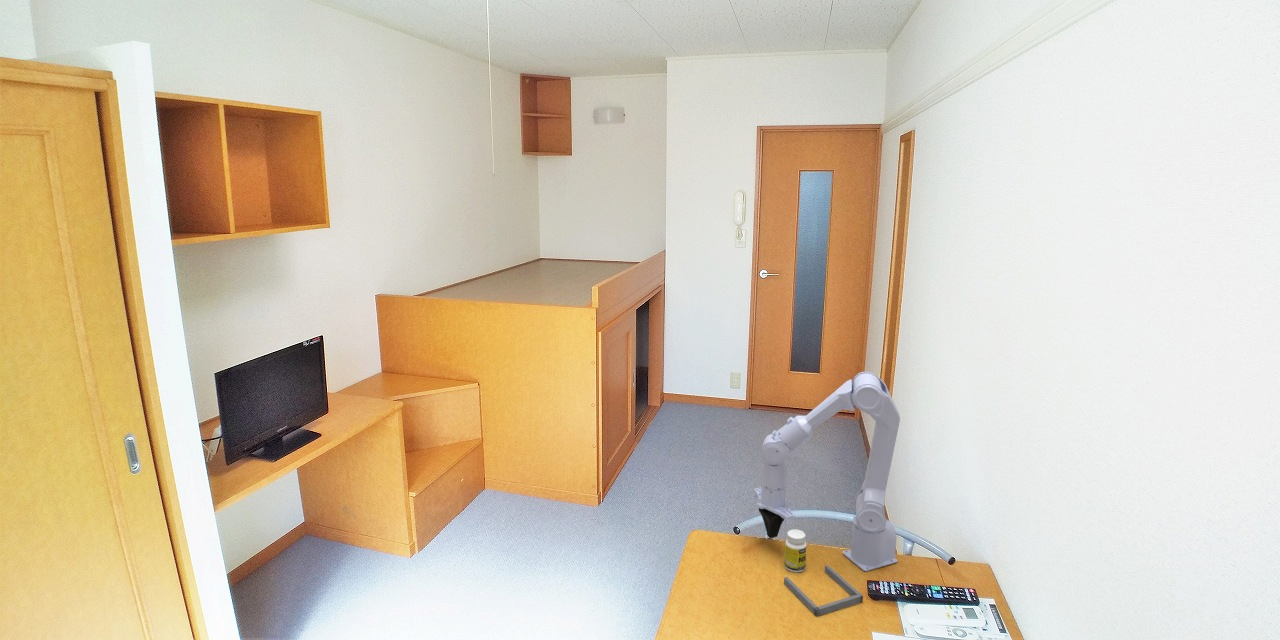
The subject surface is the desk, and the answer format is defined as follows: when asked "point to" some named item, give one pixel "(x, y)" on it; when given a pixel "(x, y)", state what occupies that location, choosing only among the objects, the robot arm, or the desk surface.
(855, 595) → the corral
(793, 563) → the supplement bottle
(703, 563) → the desk surface
